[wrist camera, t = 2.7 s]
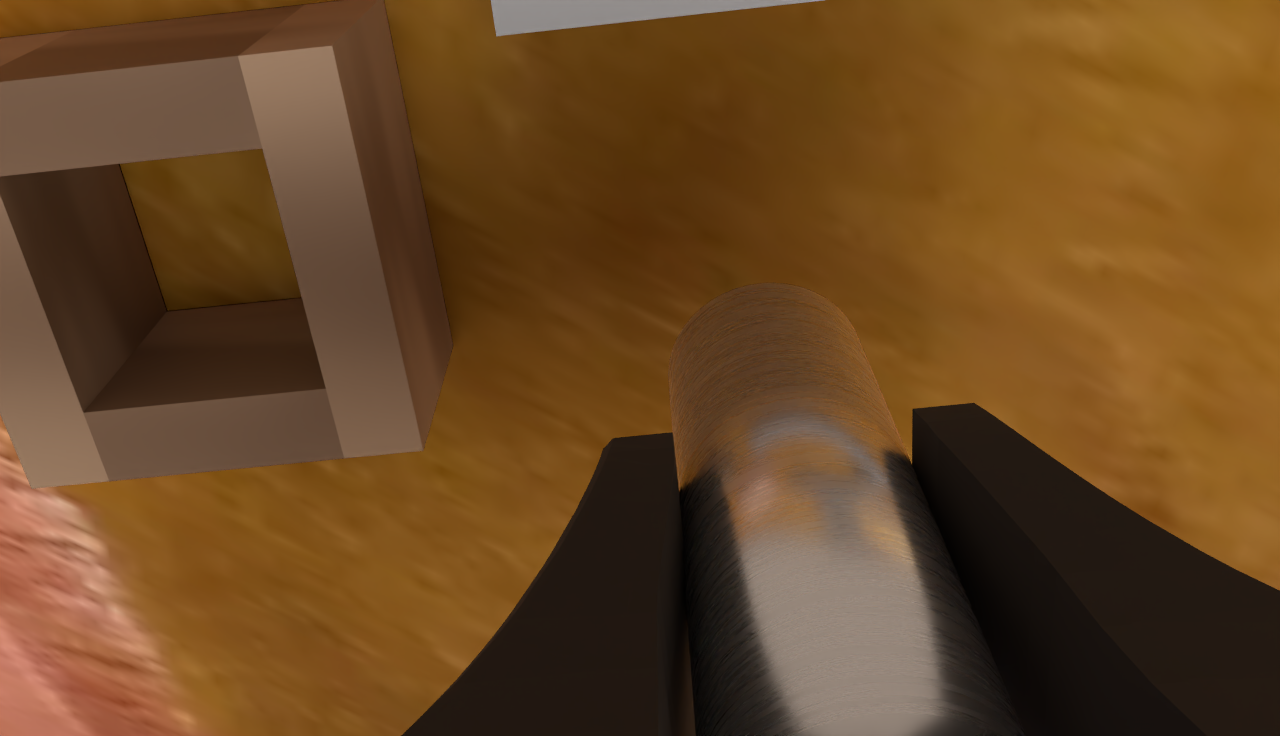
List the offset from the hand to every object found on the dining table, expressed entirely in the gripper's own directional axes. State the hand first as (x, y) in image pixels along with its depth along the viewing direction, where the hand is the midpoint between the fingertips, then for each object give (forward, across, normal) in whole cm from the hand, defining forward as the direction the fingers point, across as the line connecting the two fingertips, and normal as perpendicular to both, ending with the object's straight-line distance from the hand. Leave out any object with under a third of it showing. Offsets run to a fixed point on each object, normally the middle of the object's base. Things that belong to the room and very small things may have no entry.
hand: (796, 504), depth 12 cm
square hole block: (+8, +8, -1) cm, 12 cm away
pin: (+3, 0, 0) cm, 3 cm away
